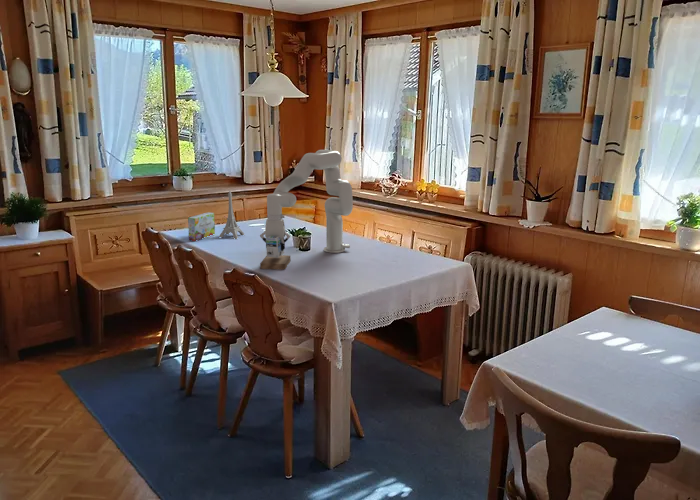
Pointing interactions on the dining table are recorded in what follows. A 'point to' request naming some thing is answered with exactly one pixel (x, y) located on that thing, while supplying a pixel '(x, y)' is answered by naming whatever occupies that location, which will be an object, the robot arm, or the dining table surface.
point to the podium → (275, 262)
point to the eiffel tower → (231, 221)
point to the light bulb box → (273, 246)
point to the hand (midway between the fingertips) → (275, 249)
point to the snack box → (201, 226)
